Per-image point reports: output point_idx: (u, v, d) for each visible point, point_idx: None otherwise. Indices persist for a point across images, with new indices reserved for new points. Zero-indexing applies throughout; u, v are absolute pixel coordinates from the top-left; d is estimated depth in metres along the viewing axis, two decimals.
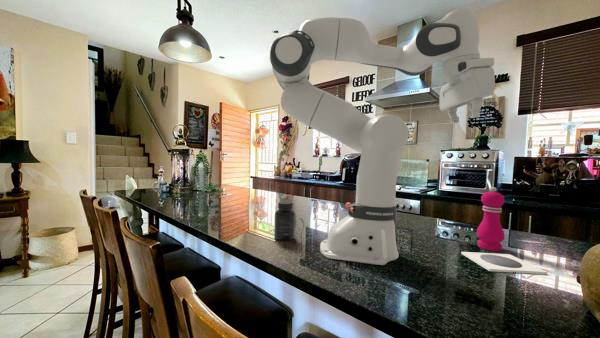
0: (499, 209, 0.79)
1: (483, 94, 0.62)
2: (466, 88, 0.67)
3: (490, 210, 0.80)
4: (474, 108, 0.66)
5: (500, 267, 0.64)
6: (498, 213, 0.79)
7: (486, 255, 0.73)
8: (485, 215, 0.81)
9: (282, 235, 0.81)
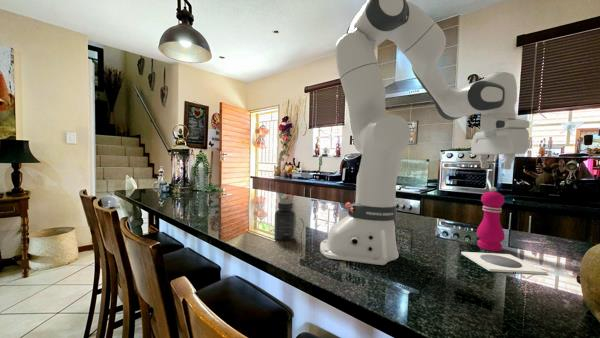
0: (499, 209, 0.79)
1: (517, 152, 0.71)
2: (501, 143, 0.76)
3: (490, 210, 0.80)
4: (507, 161, 0.75)
5: (500, 267, 0.64)
6: (498, 213, 0.79)
7: (486, 255, 0.73)
8: (485, 215, 0.81)
9: (282, 235, 0.81)
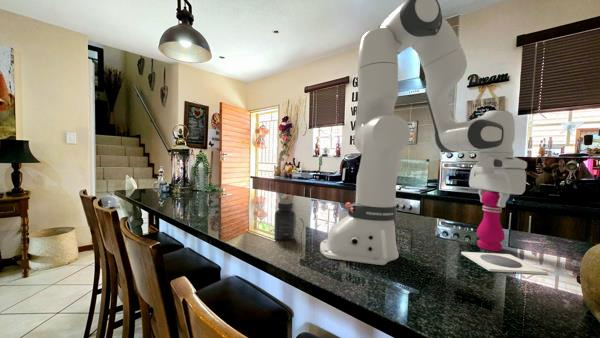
0: (499, 209, 0.79)
1: (514, 193, 0.72)
2: (498, 181, 0.76)
3: (490, 210, 0.80)
4: (501, 200, 0.76)
5: (500, 267, 0.64)
6: (498, 213, 0.79)
7: (486, 255, 0.73)
8: (485, 215, 0.81)
9: (282, 235, 0.81)
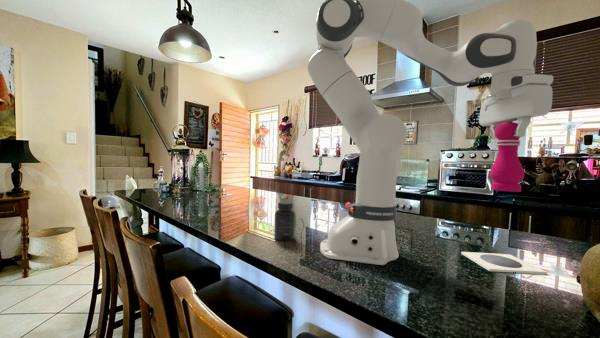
0: (517, 141, 0.66)
1: (538, 113, 0.58)
2: (517, 104, 0.63)
3: (506, 143, 0.66)
4: (520, 127, 0.63)
5: (500, 267, 0.64)
6: (516, 146, 0.66)
7: (486, 255, 0.73)
8: (500, 151, 0.68)
9: (282, 235, 0.81)
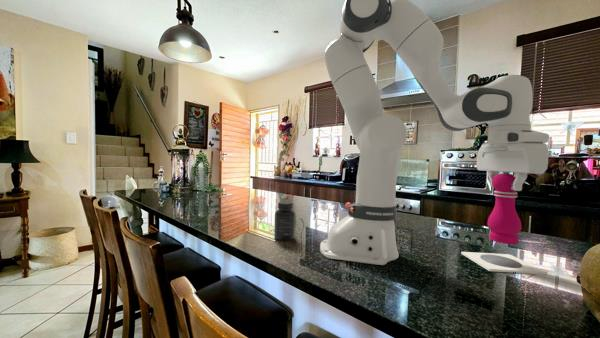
0: (514, 194, 0.66)
1: (534, 172, 0.59)
2: (514, 159, 0.63)
3: (503, 195, 0.67)
4: (517, 181, 0.64)
5: (500, 267, 0.64)
6: (513, 199, 0.66)
7: (486, 255, 0.73)
8: (497, 202, 0.68)
9: (282, 235, 0.81)
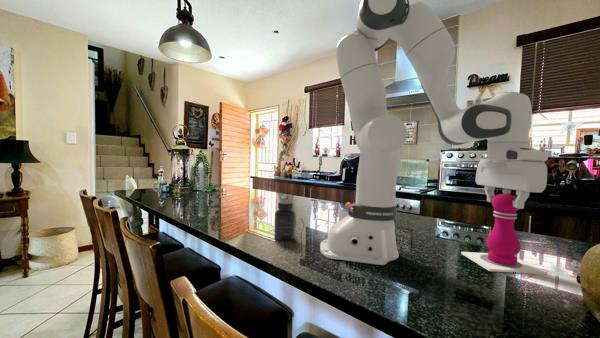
0: (514, 215, 0.66)
1: (533, 191, 0.59)
2: (512, 176, 0.64)
3: (503, 216, 0.66)
4: (519, 199, 0.63)
5: (500, 267, 0.64)
6: (513, 220, 0.66)
7: (486, 255, 0.73)
8: (497, 222, 0.68)
9: (282, 235, 0.81)
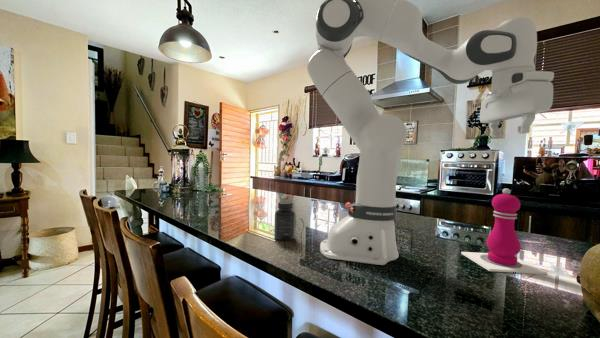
0: (514, 215, 0.66)
1: (539, 109, 0.58)
2: (518, 101, 0.63)
3: (503, 216, 0.66)
4: (525, 123, 0.62)
5: (500, 267, 0.64)
6: (513, 220, 0.66)
7: (486, 255, 0.73)
8: (497, 222, 0.68)
9: (282, 235, 0.81)
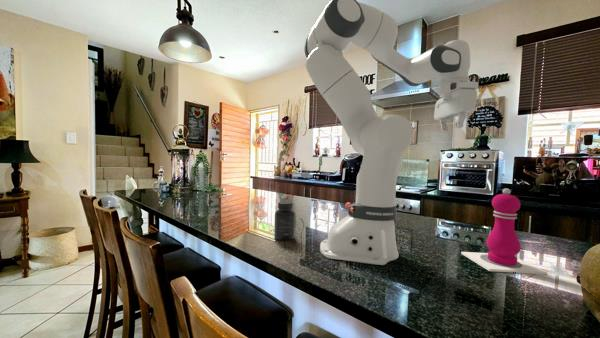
0: (514, 215, 0.66)
1: (466, 110, 0.79)
2: (455, 103, 0.84)
3: (503, 216, 0.66)
4: (459, 120, 0.83)
5: (500, 267, 0.64)
6: (513, 220, 0.66)
7: (486, 255, 0.73)
8: (497, 222, 0.68)
9: (282, 235, 0.81)
